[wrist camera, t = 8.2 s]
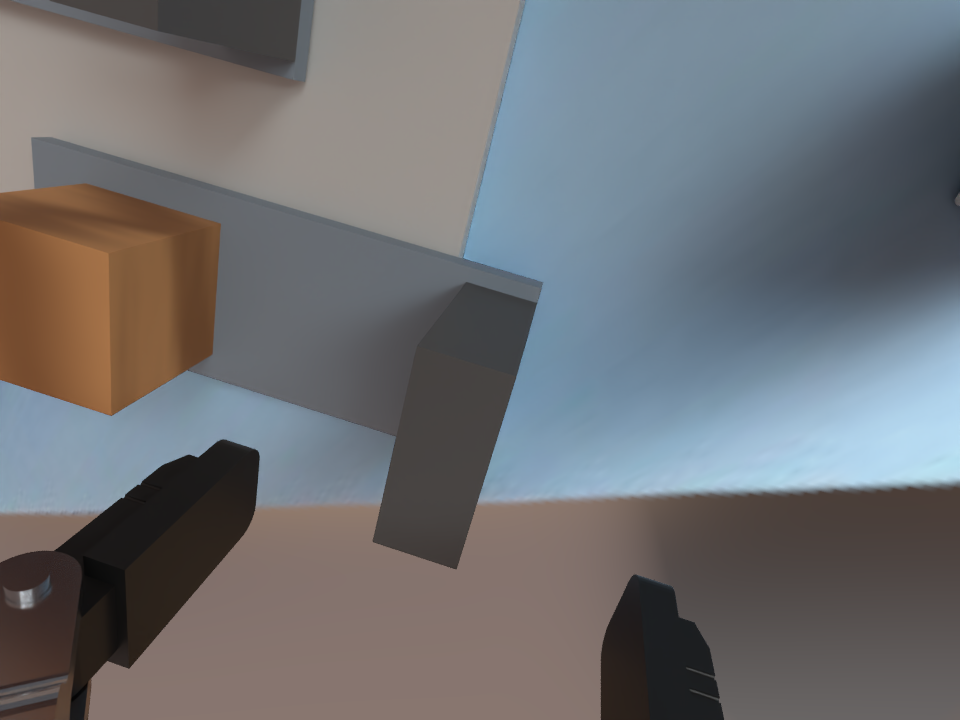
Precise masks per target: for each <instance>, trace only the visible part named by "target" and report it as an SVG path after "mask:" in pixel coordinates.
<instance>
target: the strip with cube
mask: <svg viewBox="0 0 960 720" xmlns="http://www.w3.org/2000/svg"><path fill="white" fill-rule="evenodd" d="M31 144H32V158H33V173H34V188H35V189H39V188H48V187H57V186H66V185H75V184H83V183H87V184H90V185H94V186H97V187H100V188H104V189H107V190H110V191H114V192H117V193H120V194H124V195H127V196H130V197H134V198H137V199H140V200H144V201H147V202H150V203H154V204H157V205H160V206H164V207H167V208H170V209H174V210H177V211H180V212H184V213H187V214H190V215H194V216H197V217H200V218H204V219H207V220H210V221H214V222H217V223H220V224H221V230H220V246H219V262H218V277H217V293H216V308H215V324H214V339H213V354H212V355H211V356H209V357H207V358H206V359H204V360H203V361H201V362H199V363H198V364H196V365H194V366H193V367H191V368H189V369H188V371H192V372H195V373H198V374H201V375H204V376H207V377H210V378H214V379H217V380H220V381H223V382H226V383H229V384H233V385H236V386H239V387H242V388H245V389H248V390H251V391H255V392H258V393H261V394H264V395H267V396H270V397H274V398H277V399H280V400H283V401H286V402H289V403H292V404H296V405H299V406H302V407H305V408H308V409H311V410H315V411H318V412H321V413H324V414H327V415H330V416H334V417H337V418H340V419H343V420H346V421H349V422H352V423H356V424H359V425H362V426H365V427H368V428H371V429H375V430H378V431H381V432H384V433H387V434H390V435H393V436H396V441H395V445H394V449H393V454H392V458H391V463H390V467H389V472H388V476H387V481H386V485H385V489H384V494H383V498H382V503H381V507H380V512H379V516H378V521H377V525H376V530H375V534H374V538H373V542H375V543H378V544H381V545H384V546H387V547H390V548H393V549H396V550H399V551H402V552H405V553H408V554H411V555H414V556H417V557H420V558H423V559H426V560H429V561H432V562H435V563H439V564H441V565H444V566H447V567H450V568H453V569H457V566H458V563H459V560H460V556H461V553H462V550H463V547H464V544H465V540H466V537H467V533H468V530H469V527H470V524H471V521H472V517H473V515H474V511H475V508H476V505H477V502H478V498H479V495H480V492H481V489H482V486H483V482H484V479H485V476H486V473H487V470H488V466H489V463H490V460H491V457H492V453H493V450H494V447H495V444H496V441H497V437H498V434H499V431H500V428H501V424H502V421H503V418H504V415H505V412H506V408H507V405H508V402H509V399H510V395H511V392H512V389H513V386H514V383H515V379H516V376H517V373H518V369H519V366H520V362H521V358H522V355H523V351H524V348H525V344H526V341H527V337H528V334H529V330H530V326H531V323H532V319H533V316H534V312H535V309H536V305H537V302H538V299H539V295H540V292H541V289H542V285H543V282H540V281H537V280H533V279H530V278H527V277H523V276H520V275H516V274H513V273H510V272H506V271H503V270H500V269H496V268H493V267H489V266H486V265H483V264H479V263H476V262H472V261H469V260H466V259H462V258H459V257H456V256H452V255H449V254H445V253H442V252H439V251H435V250H432V249H428V248H425V247H422V246H418V245H415V244H412V243H408V242H405V241H401V240H398V239H395V238H391V237H388V236H384V235H381V234H378V233H374V232H371V231H368V230H364V229H361V228H357V227H354V226H351V225H347V224H344V223H341V222H337V221H334V220H330V219H327V218H324V217H320V216H317V215H313V214H310V213H307V212H303V211H300V210H297V209H293V208H290V207H286V206H283V205H280V204H276V203H273V202H269V201H266V200H263V199H259V198H256V197H253V196H249V195H246V194H242V193H239V192H236V191H232V190H229V189H225V188H222V187H219V186H215V185H212V184H209V183H205V182H202V181H198V180H195V179H192V178H188V177H185V176H181V175H178V174H175V173H171V172H168V171H165V170H161V169H158V168H154V167H151V166H148V165H144V164H141V163H137V162H134V161H131V160H127V159H124V158H121V157H117V156H114V155H110V154H107V153H104V152H100V151H97V150H93V149H90V148H87V147H83V146H80V145H77V144H73V143H70V142H66V141H63V140H60V139H56V138H53V137H31Z"/></svg>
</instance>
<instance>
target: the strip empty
mask: <svg viewBox="0 0 960 720" xmlns="http://www.w3.org/2000/svg"><path fill="white" fill-rule="evenodd" d="M11 1H14V2H18V3H21V4H25V5H28V6H32V7H35V8H39V9H43V10H46V11H50V12H53V13H57V14H60V15H64V16H67V17H71V18H75V19H78V20H82V21H85V22H89V23H92V24H96V25H99V26H103V27H107V28H110V29H114V30H117V31H121V32H124V33H128V34H131V35H135V36H138V37H142V38H146V39H149V40H153V41H156V42H160V43H163V44H167V45H170V46H174V47H178V48H181V49H185V50H188V51H192V52H195V53H199V54H202V55H206V56H210V57H213V58H217V59H220V60H224V61H227V62H231V63H234V64H238V65H242V66H245V67H249V68H252V69H256V70H259V71H263V72H266V73H270V74H274V75H277V76H281V77H284V78H288V79H291V80H296V81H302V82H305V78H306V69H307V60H308V52H309V43H310V34H311V25H312V16H313V7H314V0H11Z"/></svg>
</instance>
